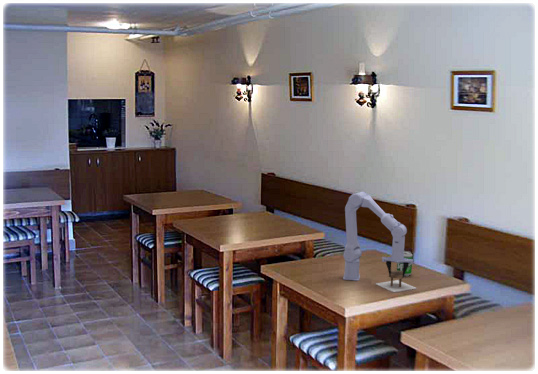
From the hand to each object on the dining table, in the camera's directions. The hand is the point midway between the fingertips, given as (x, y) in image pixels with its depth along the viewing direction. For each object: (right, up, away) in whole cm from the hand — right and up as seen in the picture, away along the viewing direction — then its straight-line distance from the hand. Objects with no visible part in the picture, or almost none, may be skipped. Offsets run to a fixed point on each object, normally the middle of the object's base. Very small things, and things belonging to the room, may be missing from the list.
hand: (396, 277), depth 315 cm
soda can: (+8, -2, +21) cm, 23 cm away
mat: (0, -5, +1) cm, 5 cm away
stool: (0, -3, 0) cm, 4 cm away
